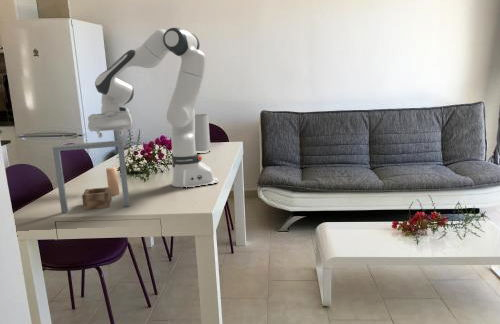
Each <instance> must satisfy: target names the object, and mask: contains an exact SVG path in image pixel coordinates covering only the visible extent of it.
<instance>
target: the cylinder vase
mask: <svg viewBox="0 0 500 324" xmlns="http://www.w3.org/2000/svg"><path fill="white" fill-rule="evenodd" d="M209 120H210V119H209V114H208V113H207V114H206V113H197V114H196V113H195V148H196V151H206V150H210V151H211V139H210V138H211V137H210V125H209V124H210V123H209Z"/></svg>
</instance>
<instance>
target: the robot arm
mask: <svg viewBox="0 0 500 324" xmlns="http://www.w3.org/2000/svg"><path fill="white" fill-rule="evenodd" d="M170 52H171V53H172V54H174V55H175V56H177V57H179V58H180V60H181V62H180V66H179V71H178V75H177V80H176V84H175V88H174V91H173V93H172V96H171V98H170V101H169V105H168V107H167V110H166V115H165V116H166V120H167V122H168V123H169V125H170V126H171V138H170V139H171V141H170V142H171V150H172V155H171V158H172V164H171V165H172V167H173V168H172V169H173V171H172V180H171V186H172V187H175V188H176V187H177V188H183V187H186V188H185V189H188V188H187V187H193V188H195V187H194V186H199V185H206V184H211V183H216V182H218V181H219V178H218V176H215V175H214V172H213V170H212V168H211V167H210V166H208V165H207V164H205V163H204V162H203V161H202V160H203V156H202V155H201V154H196V148H195V114H196V112H195V106H196V103H197V99H198V96H199V94H200V91H201V86H202V82H203V78H204V74H205V69H206V59H207V57H206V55H205V53H204V52H203V51H201V50H200V41H199V37H197V36H196V35H195V34H194V33H191V32H190V31H188V30H186V29H184V28H180V27H170V28H168V29H167V30H166V29H163V28H158V29H156V30H155V31H154V32H153V33H151V34H150V36H148V38H147V39H146V40H145V41H144V43H143V44H142V45H141V46H139V47H138V48H135V49H130V50H128V51H126V52H125V53H124V54H122V56H120V57H119V58H118V59H117V60H116V61H115V62H114V63H112V65H110V67H107V69H106V70H104V71H103V72H102V73H101V74H99V75H98V76H97V77H96V79H95V82H94V85H95V89H96V91H97V92H98V93H99V94H101V106H100V107H101V108H100V110H101V111H100V112H101V113H93V114H89V115H88V117H87V121H88V123H87V124H88V125H87V127H88V130H89V131H90V132H96V134H97V135H98V139H99V138H100V139H102V138H103V133H102V132H105V131H106V132H107V131H119V133H118V134H119V135H118V136H119V137H124V134H125V132H126V130H132V129H133V127H134V124H133V117H132V115H131V114H130V110H129V107H128V108H127V107H123V106H125V105H127V104H129V103H130V102H131V101H132V100H133V98H134V87H133V86H132V85H131V84H129V83H128V82H126V81H123V80H121V79H120V78H118V76H120V74H121V73H123V71H125V70H126V69H127V68H130V67H139V68H145V69H152V68H155V67H157V66H158V65H159V64H160V63H161V62H162V61H163V59H165V57H166V56H167V55H168V53H170ZM218 183H219V182H218ZM206 186H207V185H206Z"/></svg>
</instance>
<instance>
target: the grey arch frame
mask: <svg viewBox="0 0 500 324" xmlns="http://www.w3.org/2000/svg"><path fill="white" fill-rule="evenodd" d="M124 145H125V141H124V140H112V141H97V142H85V143H83V142H82V143H81V142H80V143H72V144H71V143H70V144H56V145H54V146H53V147H52V152H53V153H52V154H53V160H54V168H55V175H56V180H57V181H56V182H57V188H58V196H59V197H58V198H59V202H60V203H59V204H60V210H61V214H68V213H69V208H68V200H67V194H66V186H65V185H66V184H65V177H64V173H63V172H64V171H63V164H62V157H61V151H77V150H90V149H103V148H114V147H115V148H116V147H117V151H118V159H119V170H120V180H121V187H122V197H123V207H124V208H128V207H129V208H130V206H131V203H130V195H129V194H130V193H129V187H128V185H129V184H128V175H127V168H126V166H127V165H126V158H125V148H124V147H125V146H124Z"/></svg>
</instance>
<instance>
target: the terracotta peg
mask: <svg viewBox="0 0 500 324" xmlns="http://www.w3.org/2000/svg"><path fill="white" fill-rule="evenodd" d="M105 171H106V180H107V181H106V182H107V187H111V196H118V195H120V186H119V179H118V168H117V167H114V166H113V167H107V168H106V169H105Z"/></svg>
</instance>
